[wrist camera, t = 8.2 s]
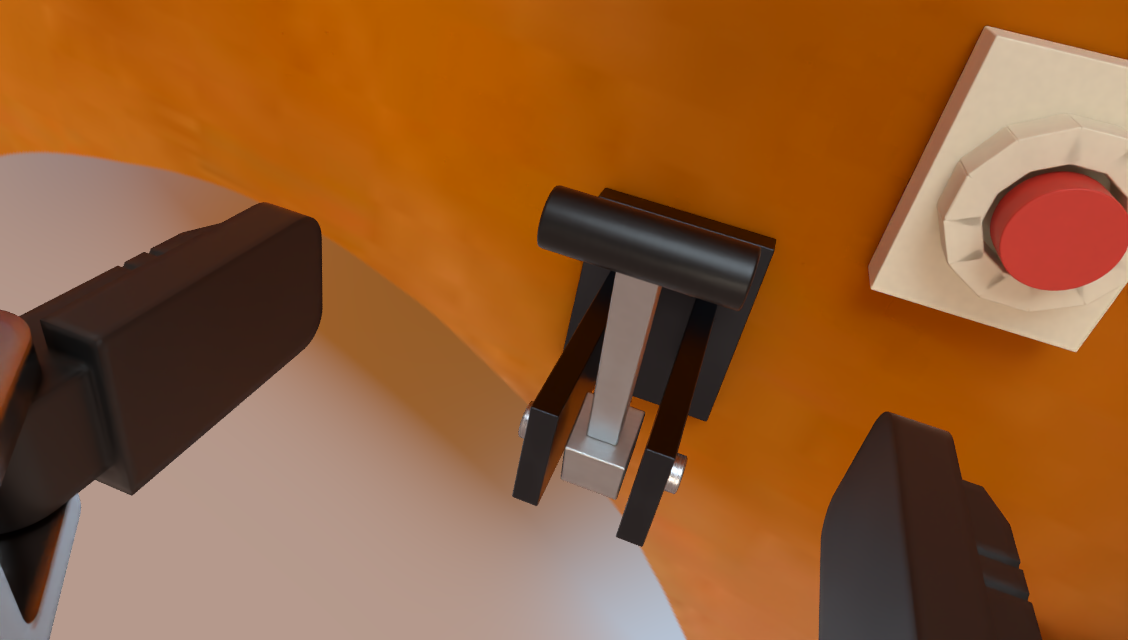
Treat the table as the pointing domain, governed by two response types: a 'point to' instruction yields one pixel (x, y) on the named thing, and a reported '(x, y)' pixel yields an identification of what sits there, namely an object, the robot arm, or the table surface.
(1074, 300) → the control block
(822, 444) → the table surface
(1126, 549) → the table surface
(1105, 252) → the button
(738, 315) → the bracket
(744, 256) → the lever
